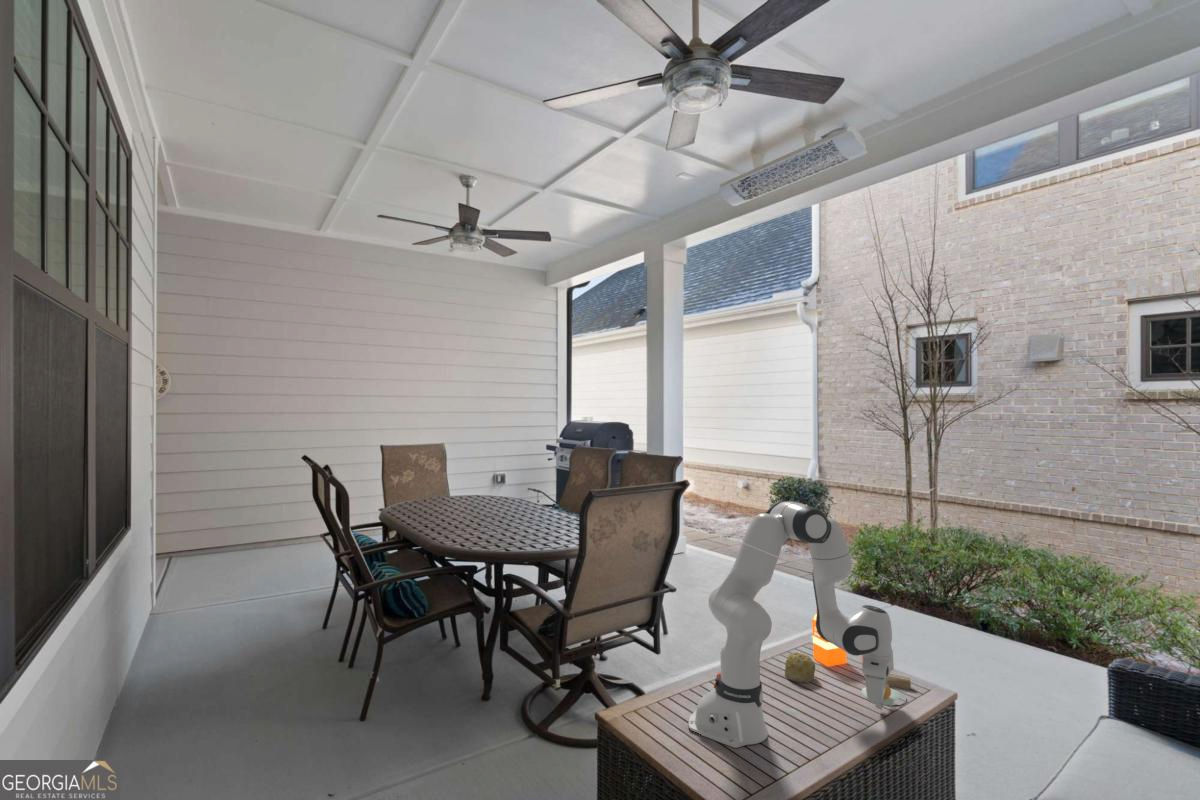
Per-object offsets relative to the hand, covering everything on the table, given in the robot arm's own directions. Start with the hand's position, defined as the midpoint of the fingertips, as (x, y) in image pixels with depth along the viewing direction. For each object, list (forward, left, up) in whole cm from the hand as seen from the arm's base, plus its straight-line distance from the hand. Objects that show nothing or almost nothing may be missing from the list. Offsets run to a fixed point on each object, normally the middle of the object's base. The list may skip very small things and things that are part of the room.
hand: (879, 706), depth 164 cm
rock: (-25, +14, -2) cm, 29 cm away
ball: (+1, +10, +1) cm, 10 cm away
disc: (+1, +12, -2) cm, 12 cm away
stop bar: (+2, +22, -2) cm, 22 cm away
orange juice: (-17, +33, -2) cm, 37 cm away
